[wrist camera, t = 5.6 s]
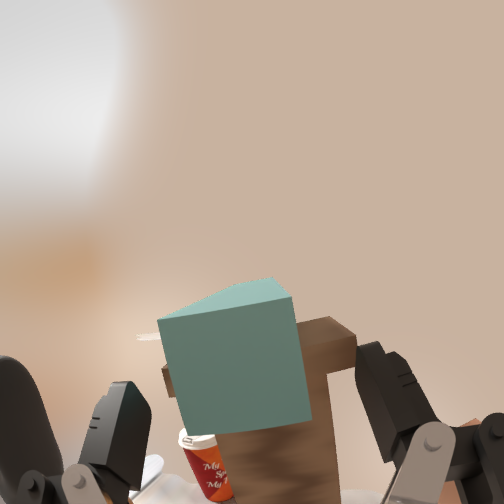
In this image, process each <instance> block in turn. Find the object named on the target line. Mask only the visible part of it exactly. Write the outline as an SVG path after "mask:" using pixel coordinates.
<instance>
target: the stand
mask: <svg viewBox="0 0 504 504" xmlns="http://www.w3.org/2000/svg"><path fill="white" fill-rule="evenodd" d="M296 325H297V330H298V336H299V341H300V347H301V353H302V359H303V365H304V371H305V377H306V383H307V389H308V395H309V401H310V408H311V414H312V420H310V421H305V422H300V423H295V424H290V425H284V426H278V427H272V428H266V429H259V430H252V431H244V432H235V433H226V434H215V438H216V442H217V445H218V448H219V452H220V455H221V458H222V461H223V465H224V468H225V471H226V474H227V477H228V480H229V483H230V486H231V489H232V492H233V495H234V498H235V501H236V503H237V504H341V496H340V485H339V474H338V464H337V454H336V445H335V436H334V427H333V419H332V411H331V404H330V396H329V389H328V382H327V375H326V374H328V373H332V372H337V371H341V370H345V369H348V368H352V367H355V362H356V348H357V339H356V335H355V334H354V333H352V332H351V331H349V330H348V329H347V328H345V327H344V326H343V325H341V324H340V323H338V322H337V321H336V320H334V319H333V318H331V317H330V316H328V317H324V318H319V319H314V320H310V321H305V322H300V323H296ZM162 373H163V377H164V381H165V384H166V388H167V392H168V395H169V397H176V395H175V392H174V388H173V384H172V380H171V377H170V373H169V369H168V365H167V364H166V365H165V366H164V367H163V368H162Z"/></svg>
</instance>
